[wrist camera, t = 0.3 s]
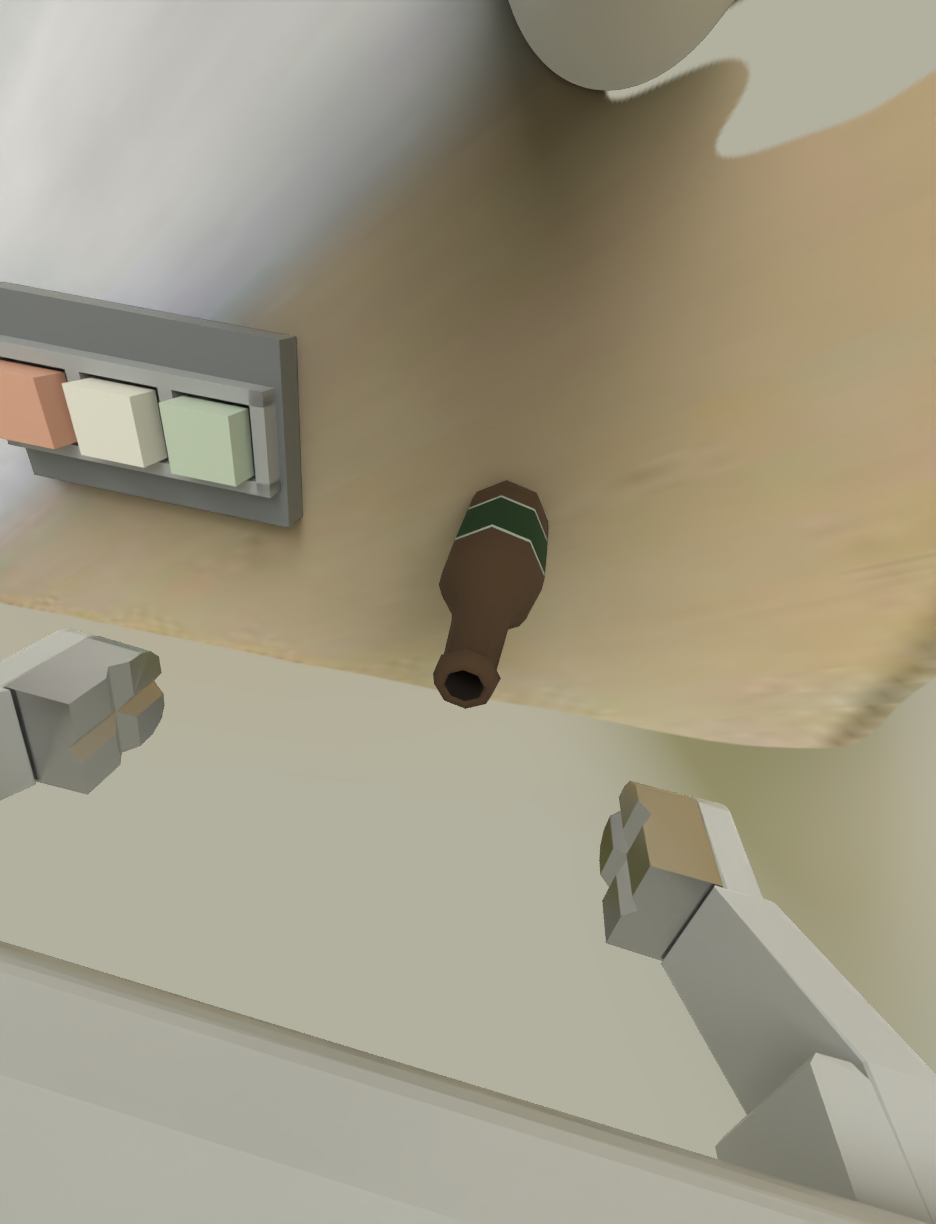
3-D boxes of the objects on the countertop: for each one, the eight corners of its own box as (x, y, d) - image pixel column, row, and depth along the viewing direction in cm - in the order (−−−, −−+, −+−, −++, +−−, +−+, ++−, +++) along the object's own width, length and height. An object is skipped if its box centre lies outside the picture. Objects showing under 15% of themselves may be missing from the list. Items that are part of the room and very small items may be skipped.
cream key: (91, 377, 42) (61, 383, 40) (155, 390, 42) (129, 396, 40) (107, 445, 45) (81, 454, 43) (167, 457, 45) (144, 467, 43)
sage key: (182, 395, 42) (158, 402, 39) (248, 408, 42) (227, 416, 39) (193, 462, 45) (171, 473, 42) (254, 475, 45) (235, 486, 42)
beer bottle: (567, 520, 47) (566, 695, 27) (507, 571, 51) (467, 758, 31) (506, 459, 45) (458, 601, 25) (449, 517, 49) (366, 680, 29)
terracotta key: (1, 359, 43) (-34, 364, 40) (64, 372, 42) (32, 377, 40) (24, 428, 46) (-8, 436, 43) (82, 440, 46) (54, 449, 43)
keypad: (4, 281, 44) (-56, 281, 40) (296, 336, 42) (266, 342, 38) (59, 465, 53) (16, 481, 48) (302, 515, 51) (279, 536, 47)
